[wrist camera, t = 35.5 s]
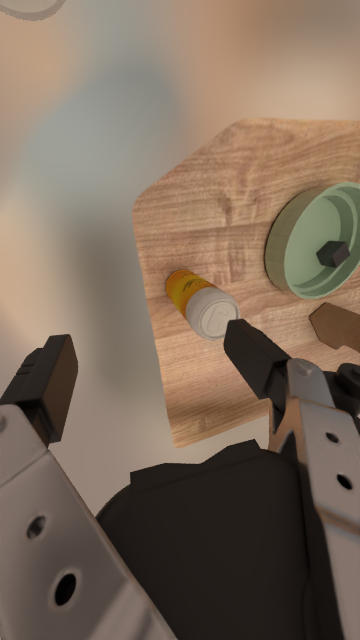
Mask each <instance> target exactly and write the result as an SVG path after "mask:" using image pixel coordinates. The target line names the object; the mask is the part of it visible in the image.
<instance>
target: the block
mask: <svg viewBox="0 0 360 640" xmlns="http://www.w3.org/2000/svg"><path fill="white" fill-rule="evenodd" d="M316 255H317V257H318V259H319V261H320V264H321V265H323V266H329V267H334V268H338V267H339V266H340V265H341V264H342V263H343V262H344V261H345V260H346V259H347V258H348V257H349V256H350V252H349V249H348V246H347V243H346V242H343V241H328V242H327V243H326V244H325V245H324V246H323V247H322V248H321V249H320V250H319V251H318V252H317V253H316Z"/></svg>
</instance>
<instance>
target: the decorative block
mask: <svg viewBox="0 0 360 640" xmlns="http://www.w3.org/2000/svg"><path fill="white" fill-rule="evenodd" d="M310 320H311V322H312V324H313V326H314V329H315V331H316V333H317V335H318V337H319V339H320V341H321V342H323V343H324V344H326V345H328V346H330V347H332V348H333V349H339V348H340V347H341V346H342V345H345V346H348V347H350V348H352V349H354V350H356V351H358V352H359V353H360V315H359V314H357V313H354V312H351V311H348V310H346V309H343V308H340V307H337V306H335V305H332V304H329V303H325V304H324V305H322V306H321V307H320V308H319V309H318V310H317V311H315V312H314V313H313V314H312V315H311V316H310Z"/></svg>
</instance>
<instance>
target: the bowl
mask: <svg viewBox="0 0 360 640" xmlns="http://www.w3.org/2000/svg"><path fill="white" fill-rule="evenodd" d="M328 241H343V242H346V243H347V246H348V249H349V252H350V256H349V257H348V258H347V259H346V260H345V261H344V262H343V263H342V264H341V265H340V266H339V267H338V268H334V267H329V266H323V265H321V264H320V261H319V259H318V257H317V255H316V253H317V252H318V251H319V250H320V249H321V248H322V247H323V246H324V245H325V244H326V243H327V242H328ZM265 263H266V270H267V273H268V276H269V278H270V280H271V281H272V283H273V284H274V285H275V286H276V287H277V288H279V289H280V290H282V291H285V292H288V293H290V294H293V295H295V296H298V297H301V298H304V299H317V298H321V297H324V296H326V295H328V294H330V293H332V292H334V291H335V290H336V289H338V288H339V287H340V286H342V285H343V284H344V283H345V282H346V281H347V280H348V279H349V277H350V276H351V275H352V274H353V273H354V271H355V270H356V269H357V267H358V266H359V264H360V184H358V183H354V182H343V183H337V184H331V185H326V186H321V187H315V188H311V189H309V190H307V191H304V192H302V193H301V194H299V195H298V196H297V197H295V198H294V199H293V200H292V201H291V202H290V203H289V204H288V205H287V206H286V207H285V208H284V209H283V210H282V212H281V213H280V215H279V217H278V218H277V220H276V221H275V223H274V225H273V228H272V230H271V232H270V234H269V238H268V242H267V246H266V254H265Z"/></svg>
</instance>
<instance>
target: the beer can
mask: <svg viewBox="0 0 360 640" xmlns="http://www.w3.org/2000/svg"><path fill="white" fill-rule="evenodd" d="M166 293H167V295H168V297H169V298H170V300H171V301H172V302H173V304H174V305H175V306H176V308H177V309H178V310H179V311H180V313H181V314H182V315H183V317H184V318H185V319H186V321H187V322H188V323H189V325H190V326H191V327H192V329H193V330H194V331H195V333H196V334H197V335H199V336H200V337H202V338H206V339H208V340H212V341H216V340H221V339H224V338H225V333H226V328H227V323H228V321H229V320H234V319H240V310H239V307H238V305H237V303H236V301H235V299H234V298H233V297H232V296H231V295H229V294H228V293H226V292H224V291H223V290H221V289H219V288H218V287H216V286H214V285H213V284H211V283H209V282H208V281H206V280H204V279H203V278H201V277H199V276H198V275H196V274H194V273H193V272H191V271H189V270H178V271H176V272H174V273H173V274H172V275H171V276H170V277H169V279H168V280H167V283H166Z"/></svg>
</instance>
